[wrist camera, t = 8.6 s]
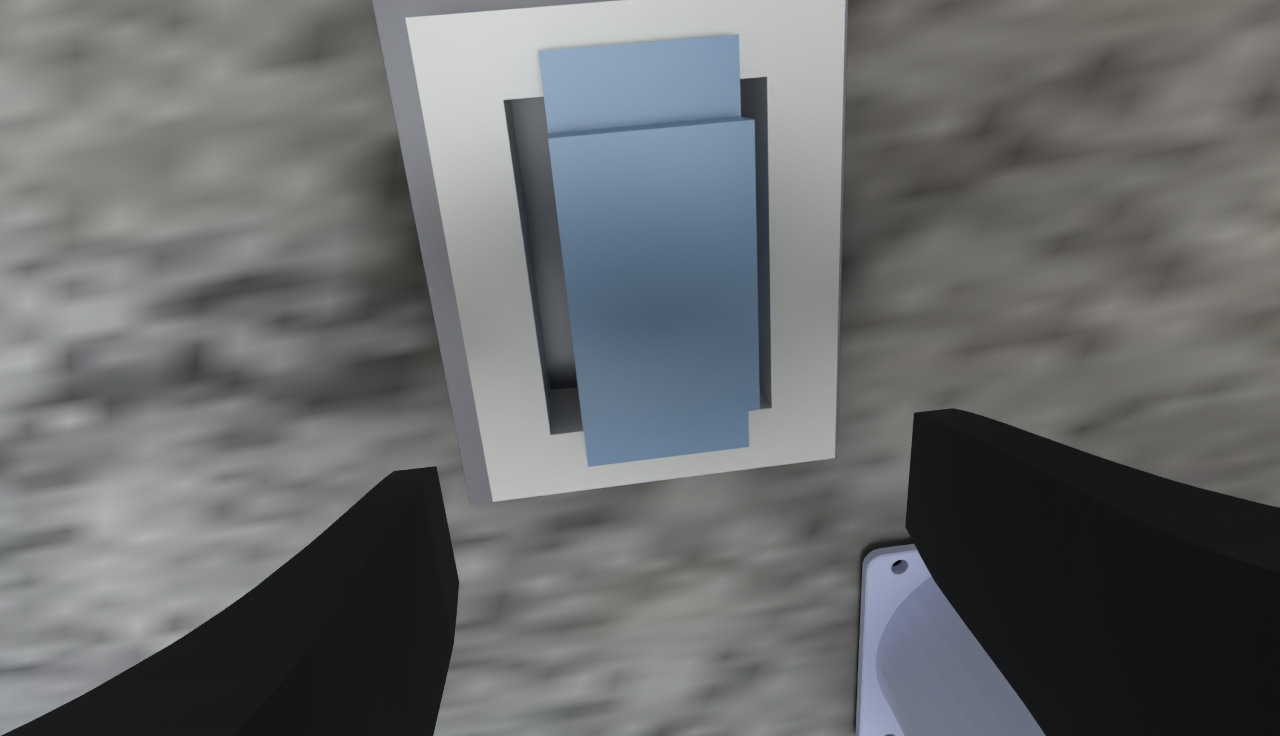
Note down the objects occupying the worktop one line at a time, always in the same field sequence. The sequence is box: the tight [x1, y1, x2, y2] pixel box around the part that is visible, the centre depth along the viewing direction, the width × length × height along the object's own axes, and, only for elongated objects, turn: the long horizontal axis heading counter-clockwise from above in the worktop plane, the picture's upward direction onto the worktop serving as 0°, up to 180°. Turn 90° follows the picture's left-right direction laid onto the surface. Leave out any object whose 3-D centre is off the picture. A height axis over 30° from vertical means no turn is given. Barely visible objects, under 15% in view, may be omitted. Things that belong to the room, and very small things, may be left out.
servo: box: [538, 34, 760, 467], centre depth 16 cm, size 4×8×4 cm, turn 4°
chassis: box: [372, 0, 848, 504], centre depth 17 cm, size 10×13×3 cm
